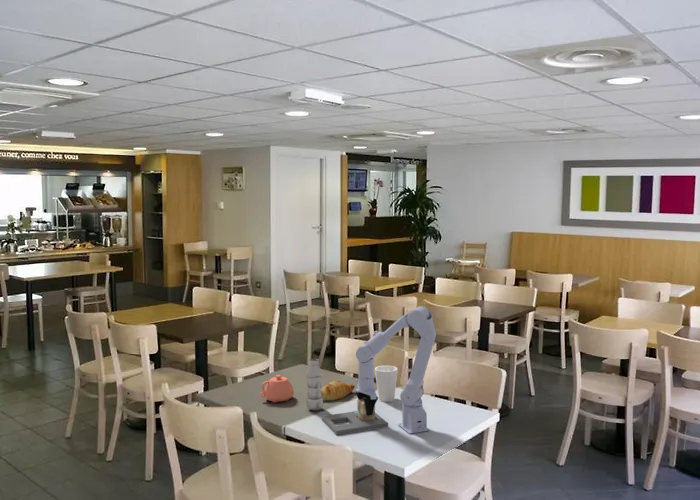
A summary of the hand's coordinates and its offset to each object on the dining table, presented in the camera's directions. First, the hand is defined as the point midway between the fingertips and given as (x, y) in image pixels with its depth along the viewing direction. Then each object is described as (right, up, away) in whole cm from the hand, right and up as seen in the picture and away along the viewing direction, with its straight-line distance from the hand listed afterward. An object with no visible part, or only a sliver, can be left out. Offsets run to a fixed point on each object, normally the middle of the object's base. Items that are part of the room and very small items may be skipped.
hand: (366, 412), depth 226 cm
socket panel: (-5, -4, -1) cm, 6 cm away
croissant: (-13, -2, +30) cm, 33 cm away
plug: (0, -3, 0) cm, 3 cm away
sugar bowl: (-37, -2, +27) cm, 46 cm away
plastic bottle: (-20, -3, +14) cm, 25 cm away
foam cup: (+9, -1, +25) cm, 26 cm away
